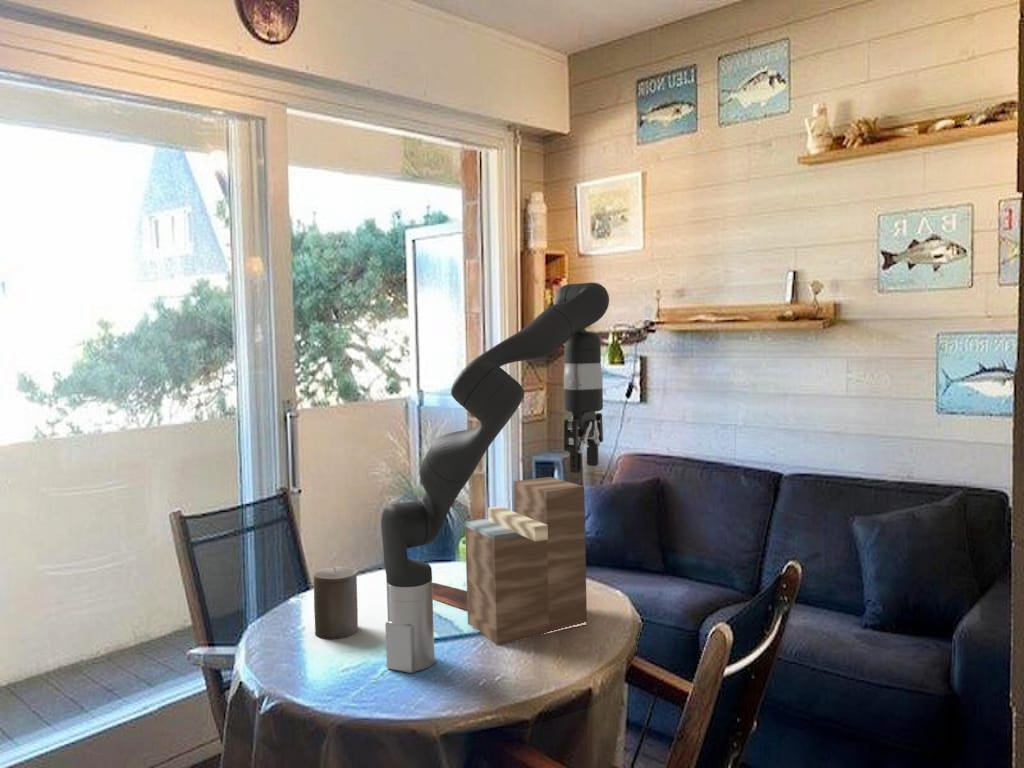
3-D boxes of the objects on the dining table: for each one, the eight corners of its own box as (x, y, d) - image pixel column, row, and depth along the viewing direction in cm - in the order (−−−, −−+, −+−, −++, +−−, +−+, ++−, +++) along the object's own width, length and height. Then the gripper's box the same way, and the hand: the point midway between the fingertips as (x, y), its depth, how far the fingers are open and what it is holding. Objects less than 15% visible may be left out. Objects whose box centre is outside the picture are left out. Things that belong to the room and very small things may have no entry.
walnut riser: (586, 625, 185) (584, 486, 183) (496, 645, 174) (493, 498, 172) (553, 606, 198) (550, 476, 196) (467, 623, 187) (464, 487, 185)
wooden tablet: (405, 586, 213) (434, 574, 220) (406, 594, 214) (435, 581, 220) (471, 610, 194) (501, 595, 201) (472, 619, 195) (502, 604, 201)
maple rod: (547, 539, 168) (547, 525, 168) (535, 541, 167) (534, 527, 167) (500, 519, 188) (499, 506, 188) (488, 520, 186) (488, 507, 186)
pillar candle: (315, 641, 179) (313, 574, 178) (314, 626, 188) (312, 562, 187) (360, 636, 181) (358, 571, 181) (356, 621, 191) (355, 559, 190)
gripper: (587, 389, 149) (589, 476, 150) (614, 384, 162) (615, 464, 163) (550, 388, 153) (552, 474, 154) (579, 383, 165) (580, 462, 166)
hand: (584, 468), depth 158 cm, fingers open, 8 cm apart
